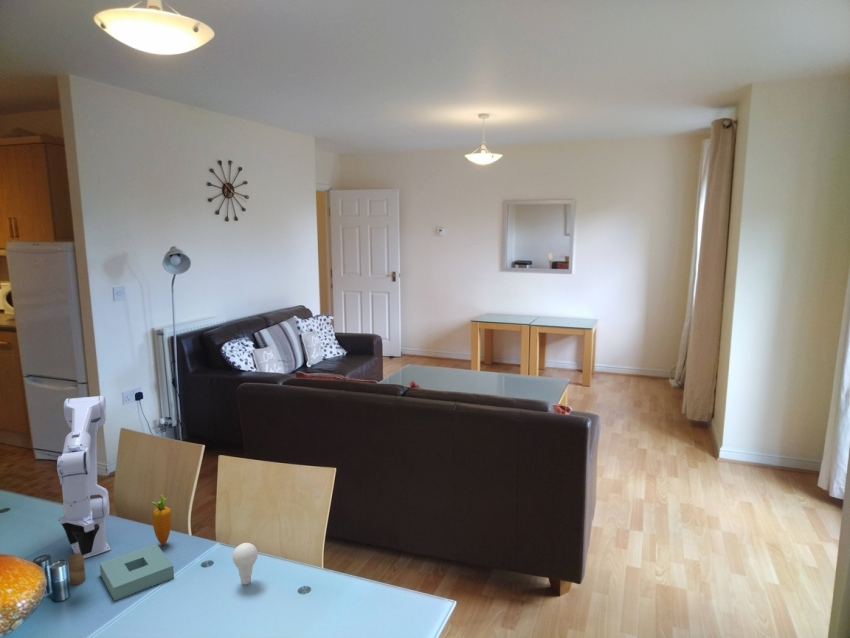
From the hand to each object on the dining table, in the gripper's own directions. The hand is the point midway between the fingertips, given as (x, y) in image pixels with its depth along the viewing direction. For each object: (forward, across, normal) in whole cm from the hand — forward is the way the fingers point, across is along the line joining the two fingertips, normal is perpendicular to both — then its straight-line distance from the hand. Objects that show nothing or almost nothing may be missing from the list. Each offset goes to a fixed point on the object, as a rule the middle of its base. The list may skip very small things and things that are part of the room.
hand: (80, 547), depth 138 cm
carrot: (+10, -2, +22) cm, 24 cm away
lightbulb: (+10, +33, +26) cm, 43 cm away
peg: (+10, -2, -1) cm, 10 cm away
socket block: (+10, +8, +10) cm, 16 cm away
